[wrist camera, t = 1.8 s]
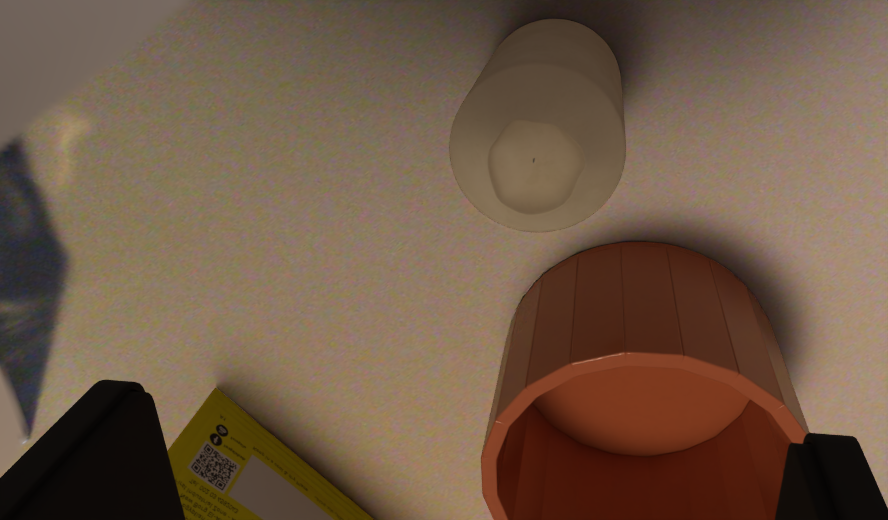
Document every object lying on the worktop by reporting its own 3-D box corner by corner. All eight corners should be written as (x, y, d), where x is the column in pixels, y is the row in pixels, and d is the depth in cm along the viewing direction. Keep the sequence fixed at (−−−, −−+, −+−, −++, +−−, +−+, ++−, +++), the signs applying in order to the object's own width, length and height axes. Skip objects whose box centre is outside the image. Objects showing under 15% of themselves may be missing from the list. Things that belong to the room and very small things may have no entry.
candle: (472, 34, 31) (419, 97, 22) (608, 1, 30) (609, 55, 21) (502, 161, 33) (465, 264, 25) (631, 136, 32) (640, 236, 23)
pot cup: (509, 448, 40) (486, 588, 32) (505, 237, 35) (475, 343, 27) (755, 467, 38) (794, 623, 30) (790, 244, 33) (849, 364, 25)
